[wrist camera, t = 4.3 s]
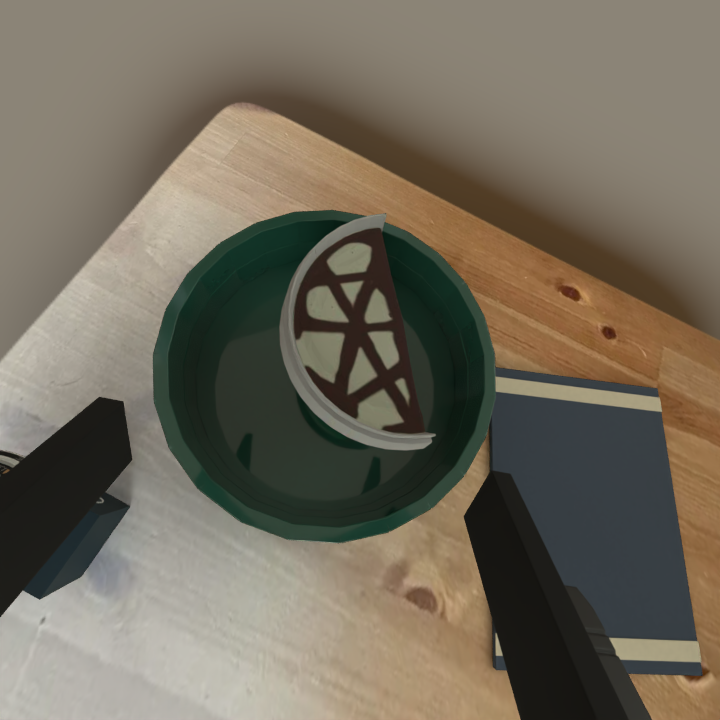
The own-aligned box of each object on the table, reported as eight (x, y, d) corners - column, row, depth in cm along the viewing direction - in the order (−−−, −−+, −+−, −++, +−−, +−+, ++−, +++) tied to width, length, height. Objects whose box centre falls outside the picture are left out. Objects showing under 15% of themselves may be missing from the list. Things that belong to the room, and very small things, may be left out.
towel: (653, 389, 28) (658, 388, 28) (696, 672, 23) (703, 676, 22) (488, 367, 27) (491, 366, 26) (492, 666, 21) (496, 671, 21)
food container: (280, 300, 25) (261, 210, 16) (358, 292, 26) (384, 204, 17) (301, 464, 23) (293, 476, 13) (388, 448, 24) (439, 448, 14)
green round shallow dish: (463, 272, 29) (493, 237, 24) (461, 532, 23) (500, 554, 18) (219, 233, 27) (199, 185, 22) (151, 509, 21) (104, 528, 16)
